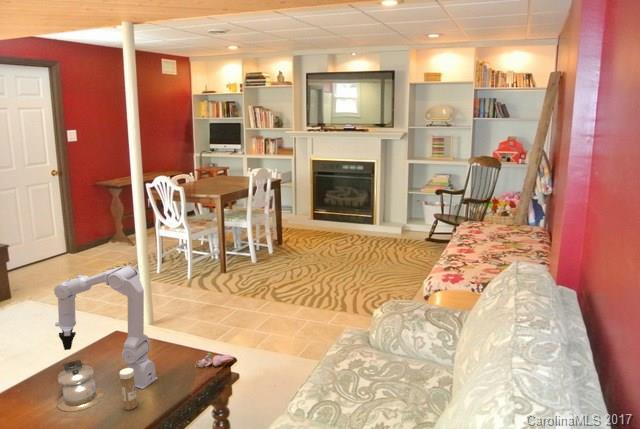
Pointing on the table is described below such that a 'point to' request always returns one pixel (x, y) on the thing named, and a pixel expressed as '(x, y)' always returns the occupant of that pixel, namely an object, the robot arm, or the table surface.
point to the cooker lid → (75, 373)
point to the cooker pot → (80, 396)
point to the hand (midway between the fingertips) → (67, 344)
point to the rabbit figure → (216, 360)
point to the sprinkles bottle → (128, 388)
